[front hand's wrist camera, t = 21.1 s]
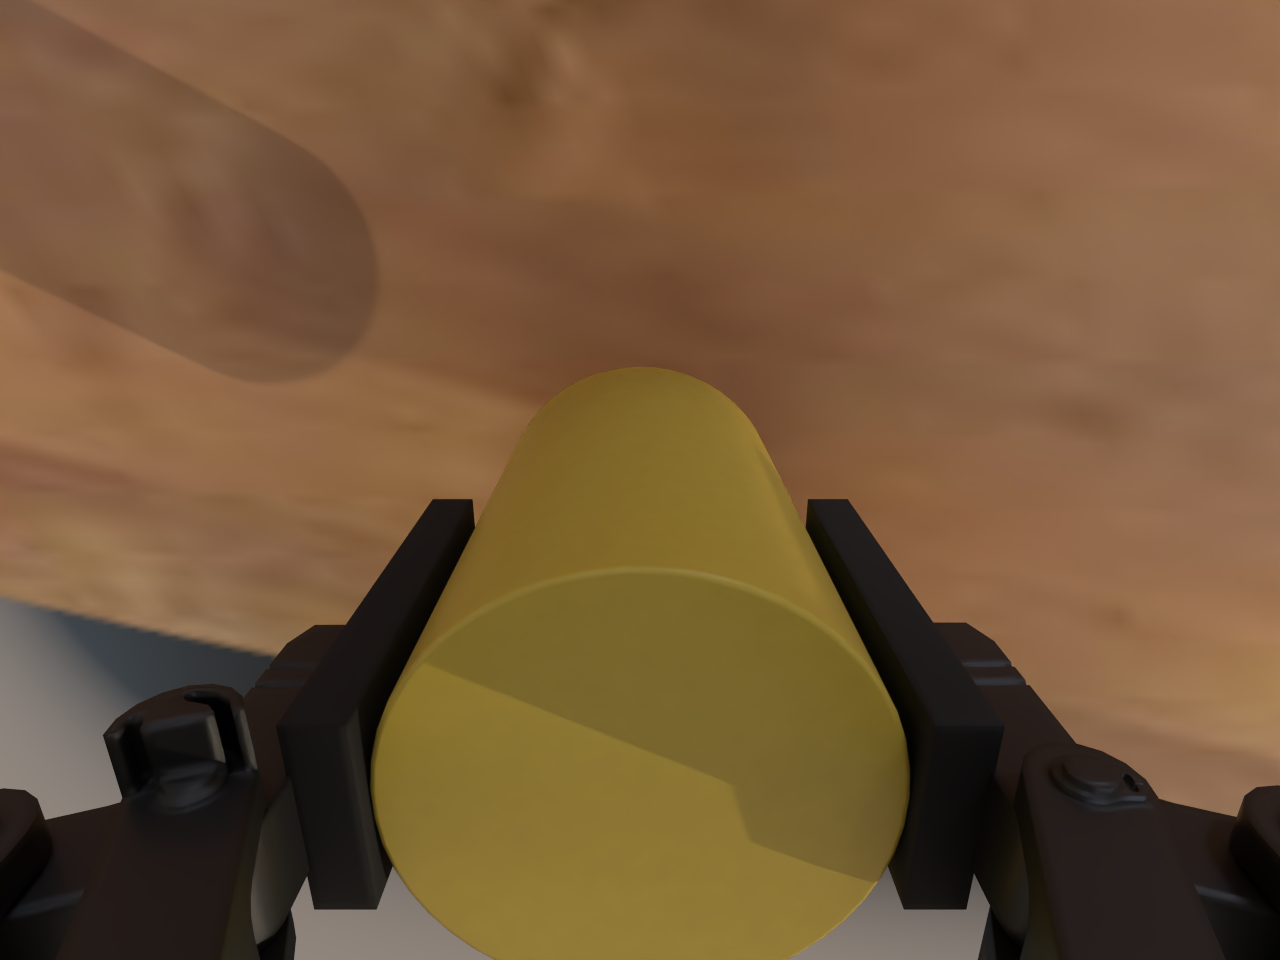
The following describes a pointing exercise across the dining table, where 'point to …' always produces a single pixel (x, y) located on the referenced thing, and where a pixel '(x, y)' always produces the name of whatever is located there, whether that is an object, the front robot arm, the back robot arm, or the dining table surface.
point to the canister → (640, 702)
